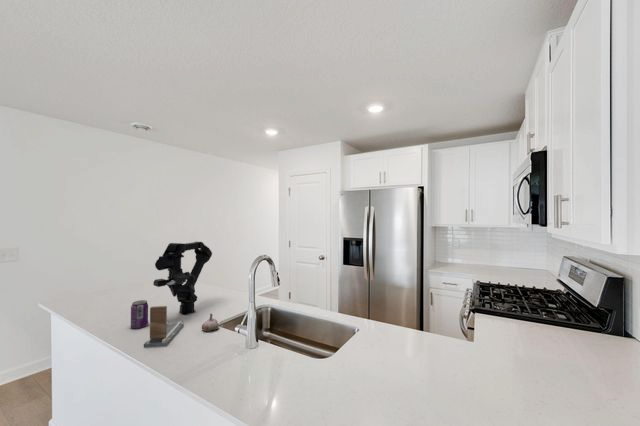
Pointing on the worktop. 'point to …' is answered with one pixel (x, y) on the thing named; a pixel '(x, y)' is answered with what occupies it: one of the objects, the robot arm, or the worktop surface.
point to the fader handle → (158, 323)
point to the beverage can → (139, 314)
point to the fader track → (171, 332)
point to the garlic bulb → (210, 324)
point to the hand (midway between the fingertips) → (174, 296)
